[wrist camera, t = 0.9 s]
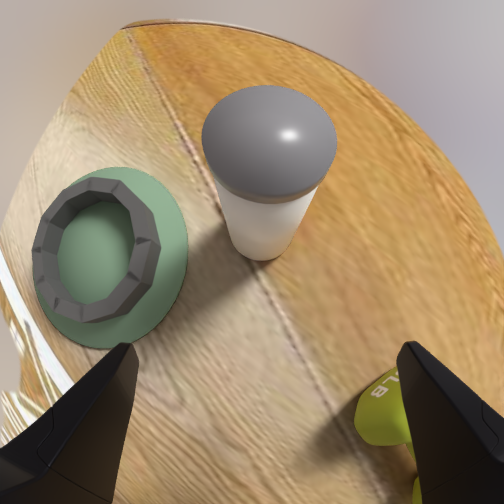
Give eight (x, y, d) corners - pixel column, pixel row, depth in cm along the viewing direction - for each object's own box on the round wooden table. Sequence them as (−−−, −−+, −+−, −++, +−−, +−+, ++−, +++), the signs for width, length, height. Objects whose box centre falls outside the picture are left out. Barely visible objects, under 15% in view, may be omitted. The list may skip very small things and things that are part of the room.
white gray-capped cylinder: (264, 276, 22) (279, 222, 10) (214, 232, 23) (174, 139, 11) (307, 227, 23) (360, 133, 11) (258, 186, 24) (262, 69, 11)
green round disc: (104, 385, 20) (87, 392, 18) (14, 259, 23) (-4, 254, 20) (230, 244, 23) (227, 234, 20) (113, 141, 25) (101, 125, 22)
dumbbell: (333, 402, 20) (365, 434, 13) (408, 343, 21) (460, 349, 14) (405, 505, 17) (436, 538, 10) (463, 455, 18) (504, 476, 11)
